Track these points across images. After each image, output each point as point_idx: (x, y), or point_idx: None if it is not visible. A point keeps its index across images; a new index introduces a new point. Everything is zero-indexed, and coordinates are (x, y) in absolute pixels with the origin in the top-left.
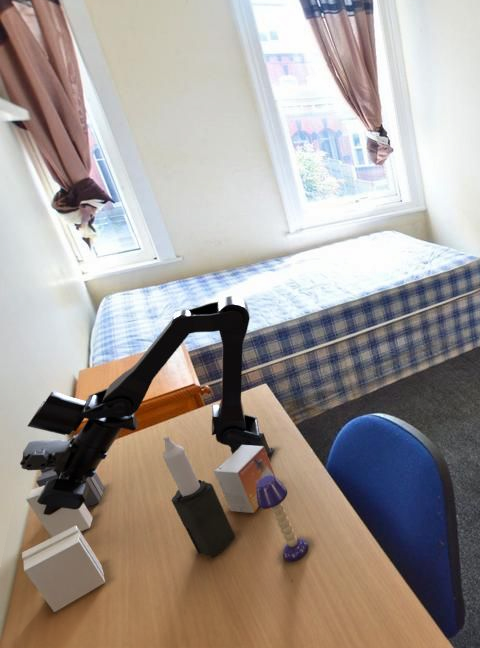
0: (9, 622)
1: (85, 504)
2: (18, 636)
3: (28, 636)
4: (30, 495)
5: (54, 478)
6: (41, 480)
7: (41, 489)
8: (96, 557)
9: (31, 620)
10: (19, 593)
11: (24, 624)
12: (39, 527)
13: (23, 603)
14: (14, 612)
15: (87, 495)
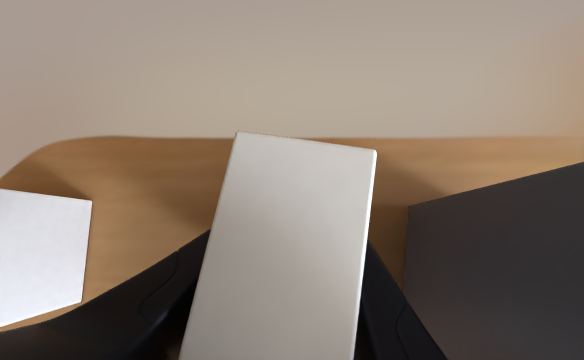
0: (85, 138)
1: (407, 283)
2: (32, 156)
3: (15, 171)
4: (272, 153)
5: (559, 275)
6: (579, 196)
7: (301, 230)
8: (42, 313)
9: (51, 172)
10: (155, 145)
11: (53, 162)
12: (398, 161)
13: (116, 155)
14: (105, 143)
15: (422, 314)
